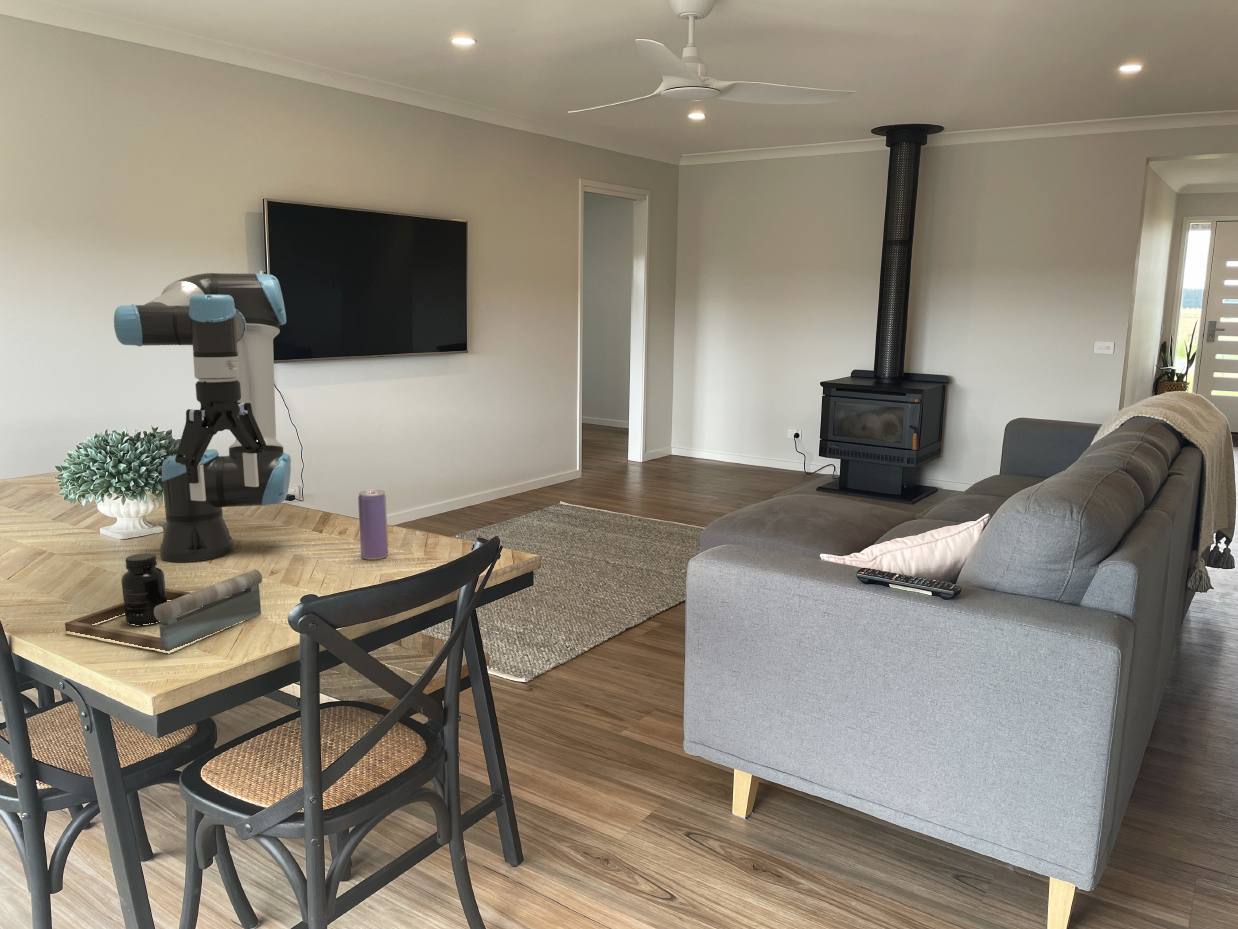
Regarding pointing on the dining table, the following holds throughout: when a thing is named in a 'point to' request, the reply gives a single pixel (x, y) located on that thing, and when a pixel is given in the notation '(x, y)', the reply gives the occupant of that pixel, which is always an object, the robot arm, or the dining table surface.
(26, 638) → the dining table surface
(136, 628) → the dining table surface
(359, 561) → the dining table surface
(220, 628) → the bay
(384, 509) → the beverage can
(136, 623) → the supplement bottle
